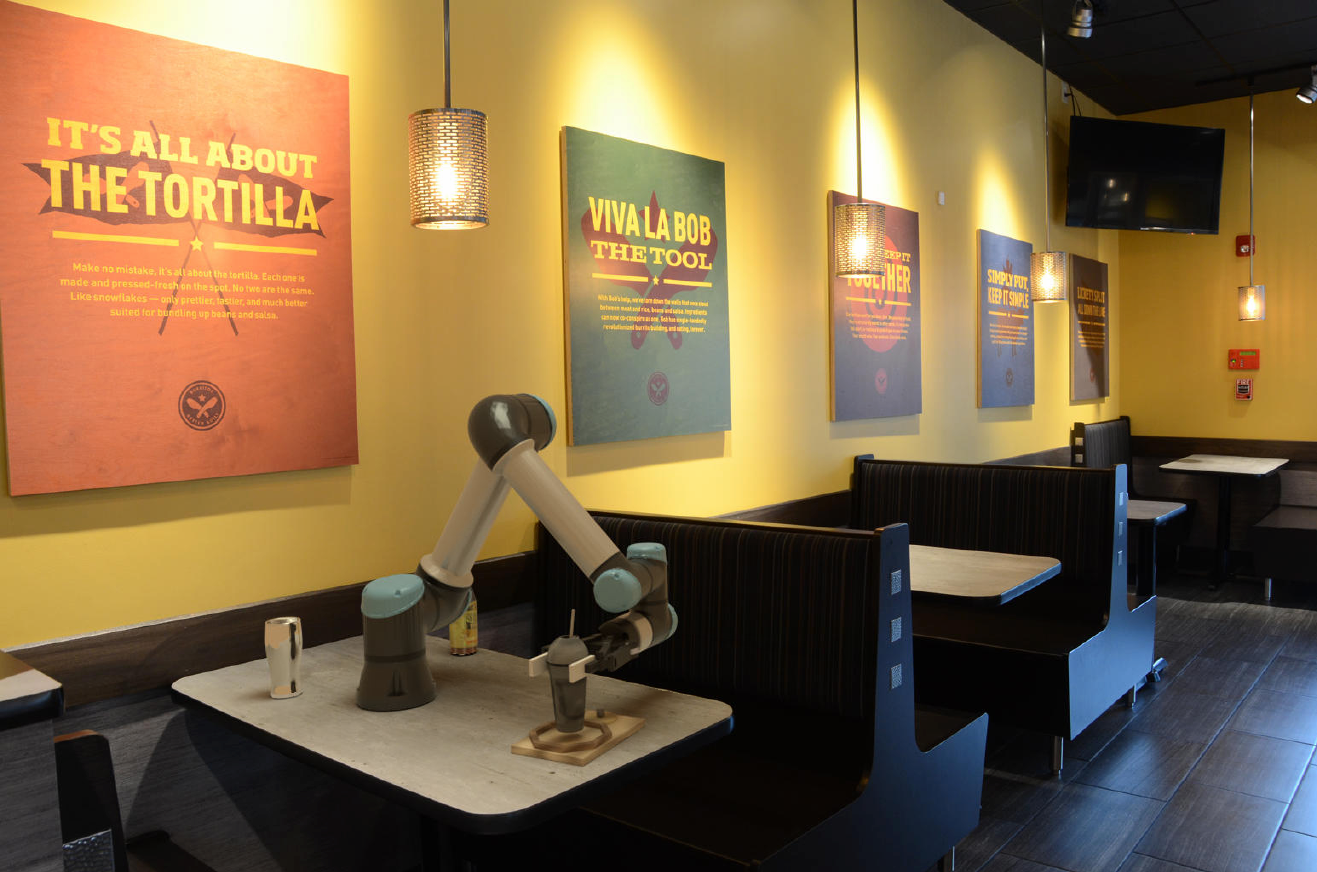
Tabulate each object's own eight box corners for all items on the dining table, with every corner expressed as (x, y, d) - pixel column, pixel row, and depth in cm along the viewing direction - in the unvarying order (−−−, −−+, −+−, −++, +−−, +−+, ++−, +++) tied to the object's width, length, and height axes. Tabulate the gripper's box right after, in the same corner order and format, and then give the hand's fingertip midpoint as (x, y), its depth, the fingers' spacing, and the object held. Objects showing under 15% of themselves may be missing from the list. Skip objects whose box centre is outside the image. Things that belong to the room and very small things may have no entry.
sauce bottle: (471, 656, 218) (468, 569, 217) (445, 656, 219) (442, 569, 218) (482, 649, 224) (479, 564, 223) (457, 648, 225) (454, 564, 224)
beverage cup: (548, 721, 165) (544, 605, 164) (591, 719, 165) (587, 603, 164) (547, 737, 157) (543, 615, 156) (592, 734, 158) (588, 613, 157)
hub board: (511, 752, 159) (510, 734, 159) (578, 715, 176) (578, 698, 176) (583, 766, 152) (582, 747, 152) (645, 725, 169) (644, 709, 169)
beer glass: (259, 698, 192) (256, 623, 191) (285, 687, 198) (282, 615, 197) (287, 701, 189) (283, 625, 188) (312, 691, 196) (308, 617, 195)
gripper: (672, 663, 172) (604, 701, 152) (577, 652, 182) (502, 686, 161) (671, 622, 172) (602, 654, 151) (576, 612, 181) (500, 642, 161)
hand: (551, 671), depth 157 cm, fingers closed on beverage cup, 7 cm apart
